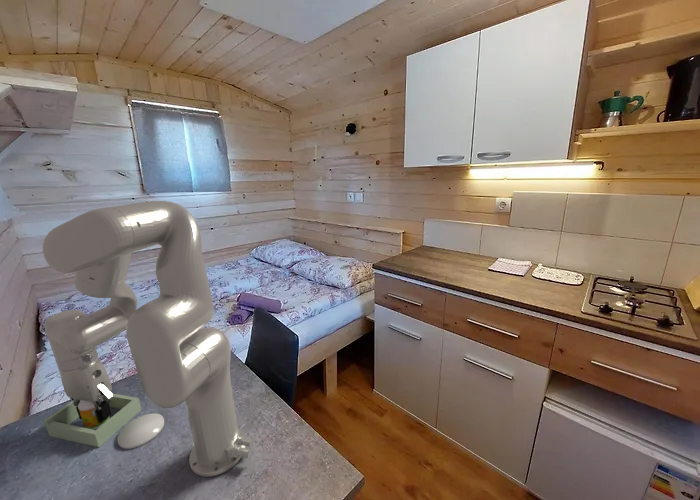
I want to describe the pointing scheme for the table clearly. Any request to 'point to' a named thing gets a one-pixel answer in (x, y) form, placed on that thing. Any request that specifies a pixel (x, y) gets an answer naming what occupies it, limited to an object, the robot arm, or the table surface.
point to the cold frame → (67, 414)
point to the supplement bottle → (90, 414)
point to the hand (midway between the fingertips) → (95, 416)
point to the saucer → (140, 431)
